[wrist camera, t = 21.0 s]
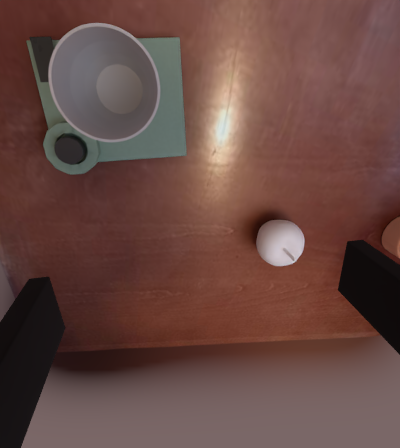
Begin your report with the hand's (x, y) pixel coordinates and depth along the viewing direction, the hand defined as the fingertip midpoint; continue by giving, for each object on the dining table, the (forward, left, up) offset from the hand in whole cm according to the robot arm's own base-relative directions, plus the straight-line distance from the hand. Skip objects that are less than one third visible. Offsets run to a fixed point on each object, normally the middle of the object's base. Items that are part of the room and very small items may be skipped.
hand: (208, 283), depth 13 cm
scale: (-6, +7, -29) cm, 30 cm away
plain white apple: (+15, -13, -29) cm, 35 cm away
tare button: (-11, +2, -26) cm, 28 cm away
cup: (-5, +8, -25) cm, 26 cm away
